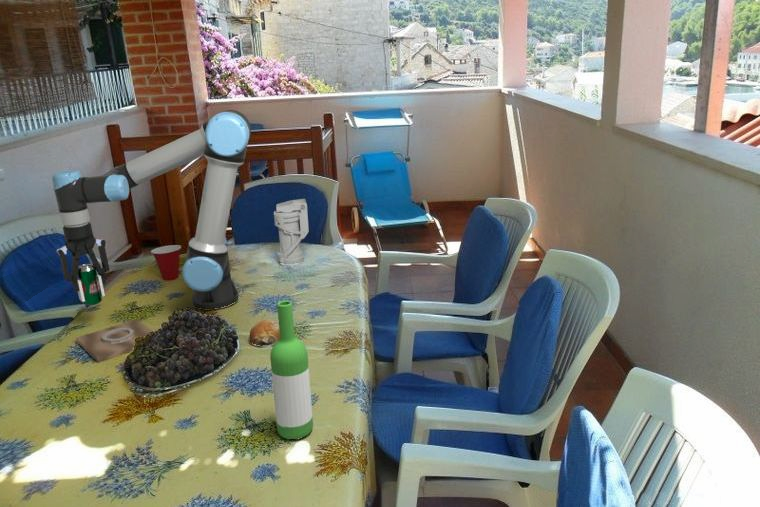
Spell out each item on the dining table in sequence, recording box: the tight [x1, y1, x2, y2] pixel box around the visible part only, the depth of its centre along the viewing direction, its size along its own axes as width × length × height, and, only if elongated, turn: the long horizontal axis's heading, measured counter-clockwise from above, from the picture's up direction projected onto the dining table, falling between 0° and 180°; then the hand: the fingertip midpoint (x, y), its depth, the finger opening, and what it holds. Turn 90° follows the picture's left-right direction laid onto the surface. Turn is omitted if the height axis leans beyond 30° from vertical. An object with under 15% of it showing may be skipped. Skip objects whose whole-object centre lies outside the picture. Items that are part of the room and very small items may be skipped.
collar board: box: [75, 319, 154, 363], centre depth 175 cm, size 18×18×2 cm
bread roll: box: [249, 318, 280, 346], centre depth 173 cm, size 10×10×8 cm
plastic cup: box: [150, 244, 182, 281], centre depth 225 cm, size 11×11×12 cm
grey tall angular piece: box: [273, 198, 310, 264], centre depth 237 cm, size 13×10×25 cm
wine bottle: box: [269, 300, 314, 440], centre depth 125 cm, size 8×8×30 cm
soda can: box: [78, 263, 103, 306], centre depth 181 cm, size 5×5×12 cm
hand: (92, 297), depth 183 cm, fingers closed on soda can, 5 cm apart
